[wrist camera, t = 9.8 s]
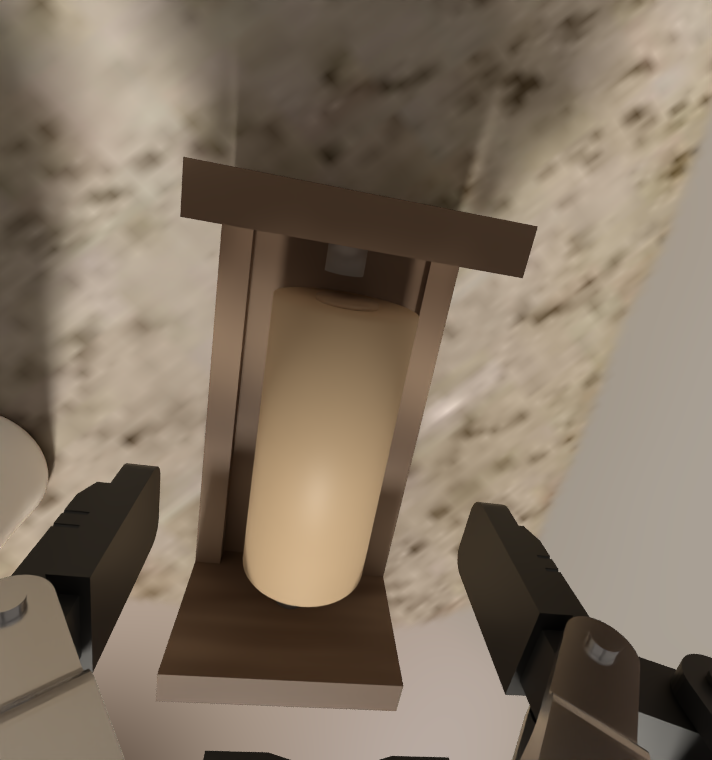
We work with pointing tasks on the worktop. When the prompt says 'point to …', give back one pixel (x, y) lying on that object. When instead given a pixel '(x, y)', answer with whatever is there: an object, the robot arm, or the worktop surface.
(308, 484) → the roll
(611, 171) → the worktop surface
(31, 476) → the drinking glass
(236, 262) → the holder
